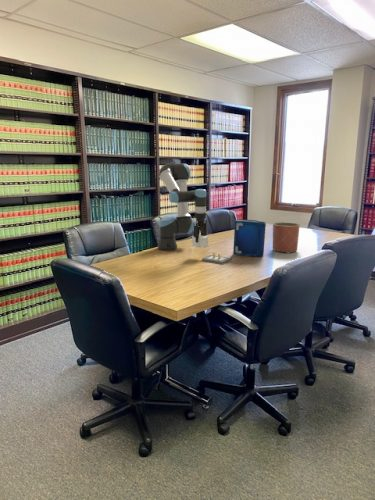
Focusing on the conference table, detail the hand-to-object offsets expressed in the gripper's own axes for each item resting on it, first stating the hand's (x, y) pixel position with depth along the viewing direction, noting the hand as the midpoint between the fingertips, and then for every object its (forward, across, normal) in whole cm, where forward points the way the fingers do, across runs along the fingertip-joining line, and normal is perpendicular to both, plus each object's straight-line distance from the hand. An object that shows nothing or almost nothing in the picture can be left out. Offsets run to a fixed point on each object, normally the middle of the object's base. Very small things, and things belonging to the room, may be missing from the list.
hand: (200, 245), depth 253 cm
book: (+9, +24, -26) cm, 37 cm away
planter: (+9, +52, -42) cm, 68 cm away
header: (+8, 0, -14) cm, 16 cm away
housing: (0, 0, 0) cm, 0 cm away
